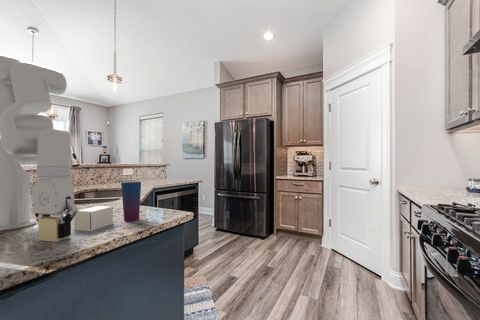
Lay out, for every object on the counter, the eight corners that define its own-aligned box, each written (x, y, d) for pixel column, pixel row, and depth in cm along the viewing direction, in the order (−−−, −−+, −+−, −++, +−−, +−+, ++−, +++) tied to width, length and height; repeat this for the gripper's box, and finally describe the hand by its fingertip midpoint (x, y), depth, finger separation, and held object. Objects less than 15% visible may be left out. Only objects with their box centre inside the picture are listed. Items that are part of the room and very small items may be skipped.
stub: (38, 240, 63) (38, 218, 63) (53, 235, 67) (53, 214, 67) (56, 241, 61) (55, 219, 61) (70, 237, 65) (70, 215, 65)
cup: (133, 224, 81) (133, 183, 81) (117, 224, 82) (116, 182, 82) (145, 219, 88) (144, 181, 88) (129, 219, 89) (129, 181, 89)
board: (25, 242, 64) (25, 239, 64) (88, 223, 83) (88, 221, 83) (69, 247, 60) (69, 244, 60) (125, 226, 79) (125, 223, 79)
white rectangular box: (74, 229, 73) (74, 211, 73) (98, 222, 81) (98, 205, 82) (90, 231, 71) (90, 211, 71) (113, 223, 80) (112, 206, 80)
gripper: (16, 173, 63) (17, 238, 62) (64, 173, 58) (65, 243, 58) (46, 172, 70) (46, 230, 70) (90, 172, 66) (91, 234, 65)
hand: (54, 235), depth 64 cm, fingers closed on stub, 6 cm apart
